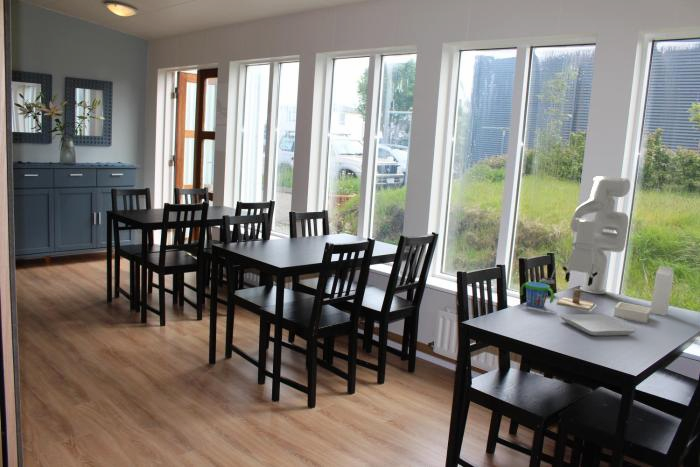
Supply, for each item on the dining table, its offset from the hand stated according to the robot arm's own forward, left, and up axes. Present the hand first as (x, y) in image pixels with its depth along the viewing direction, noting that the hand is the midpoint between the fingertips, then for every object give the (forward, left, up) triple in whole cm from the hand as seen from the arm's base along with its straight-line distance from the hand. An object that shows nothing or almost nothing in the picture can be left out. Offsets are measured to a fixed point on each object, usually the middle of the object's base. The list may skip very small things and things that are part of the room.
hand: (578, 283), depth 271 cm
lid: (-1, 0, -10) cm, 10 cm away
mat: (-1, 0, -11) cm, 11 cm away
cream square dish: (-1, +24, -11) cm, 26 cm away
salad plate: (+32, +15, -11) cm, 37 cm away
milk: (-20, +33, -11) cm, 40 cm away
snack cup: (+16, -14, -11) cm, 24 cm away
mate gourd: (-12, -16, -11) cm, 23 cm away
